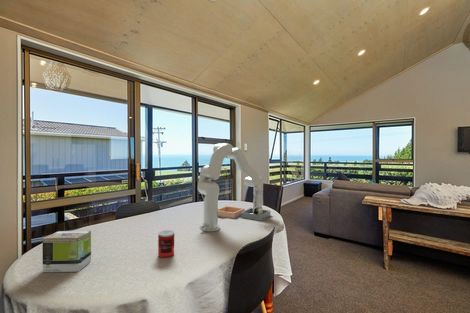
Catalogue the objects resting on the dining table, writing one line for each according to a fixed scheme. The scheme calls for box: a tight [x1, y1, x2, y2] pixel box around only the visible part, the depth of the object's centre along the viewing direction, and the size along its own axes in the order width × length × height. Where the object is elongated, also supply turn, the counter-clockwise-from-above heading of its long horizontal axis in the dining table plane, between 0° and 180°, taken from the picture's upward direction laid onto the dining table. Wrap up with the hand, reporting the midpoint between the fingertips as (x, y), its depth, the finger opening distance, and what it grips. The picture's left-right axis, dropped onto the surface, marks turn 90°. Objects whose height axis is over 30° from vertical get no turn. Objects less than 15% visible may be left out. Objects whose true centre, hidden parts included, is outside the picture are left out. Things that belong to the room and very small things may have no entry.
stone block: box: [252, 206, 264, 215], centre depth 184 cm, size 6×6×6 cm
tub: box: [218, 205, 246, 219], centre depth 191 cm, size 18×18×5 cm
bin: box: [239, 207, 271, 222], centre depth 185 cm, size 18×18×5 cm
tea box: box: [42, 230, 92, 273], centre depth 103 cm, size 15×10×15 cm, turn 92°
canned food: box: [157, 229, 175, 259], centre depth 116 cm, size 8×8×11 cm
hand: (257, 214), depth 184 cm, fingers closed on stone block, 6 cm apart
